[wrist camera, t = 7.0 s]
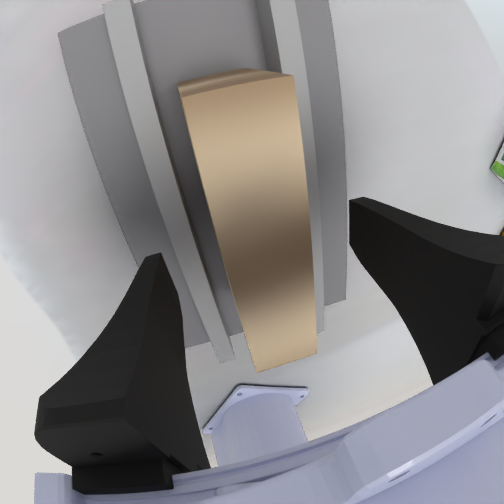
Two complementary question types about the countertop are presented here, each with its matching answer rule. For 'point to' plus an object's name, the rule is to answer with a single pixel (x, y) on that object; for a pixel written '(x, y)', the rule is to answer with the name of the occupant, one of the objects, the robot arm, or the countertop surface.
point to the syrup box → (499, 165)
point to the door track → (178, 140)
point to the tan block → (257, 204)
